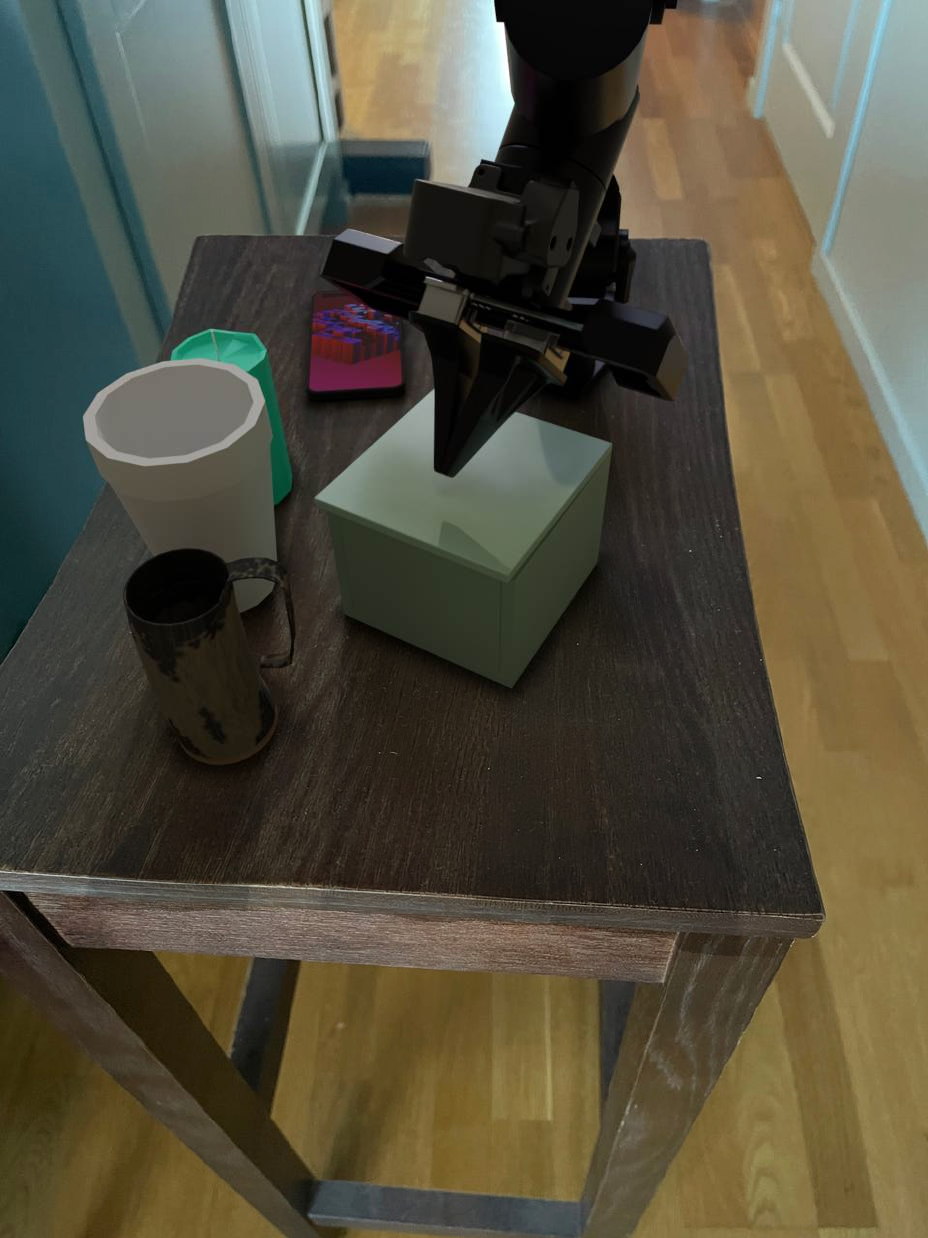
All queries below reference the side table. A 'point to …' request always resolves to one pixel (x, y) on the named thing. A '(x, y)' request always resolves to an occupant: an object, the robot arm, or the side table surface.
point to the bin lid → (467, 489)
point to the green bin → (470, 589)
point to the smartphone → (352, 349)
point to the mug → (205, 650)
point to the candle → (255, 362)
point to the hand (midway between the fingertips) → (443, 474)
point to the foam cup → (190, 461)
